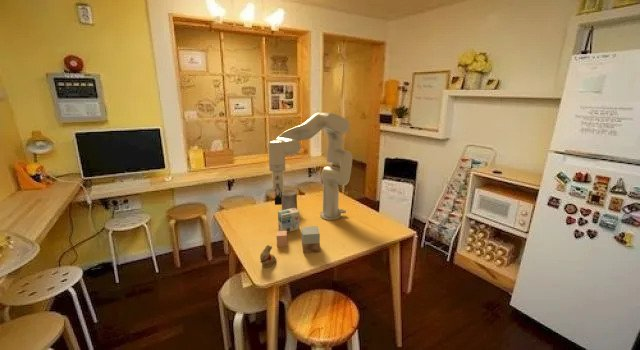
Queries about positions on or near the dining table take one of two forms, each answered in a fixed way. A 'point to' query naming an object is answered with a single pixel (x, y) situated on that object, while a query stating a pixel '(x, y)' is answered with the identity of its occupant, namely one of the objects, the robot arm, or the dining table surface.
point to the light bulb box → (288, 220)
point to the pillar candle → (289, 199)
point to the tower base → (311, 247)
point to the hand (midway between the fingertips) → (278, 200)
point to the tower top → (310, 235)
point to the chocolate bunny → (267, 257)
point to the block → (281, 238)
